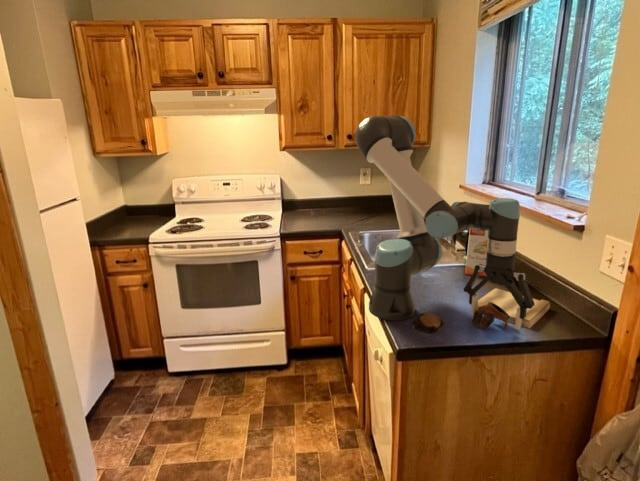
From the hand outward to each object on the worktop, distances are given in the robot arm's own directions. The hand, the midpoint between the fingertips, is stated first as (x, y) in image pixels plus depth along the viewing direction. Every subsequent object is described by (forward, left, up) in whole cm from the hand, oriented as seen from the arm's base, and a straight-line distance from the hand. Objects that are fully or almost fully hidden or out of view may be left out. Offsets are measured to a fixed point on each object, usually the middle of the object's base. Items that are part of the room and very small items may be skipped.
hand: (495, 320), depth 118 cm
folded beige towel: (-1, +16, -3) cm, 17 cm away
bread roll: (-16, -11, -3) cm, 20 cm away
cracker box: (-21, +40, -3) cm, 46 cm away
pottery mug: (-2, 0, -3) cm, 4 cm away
